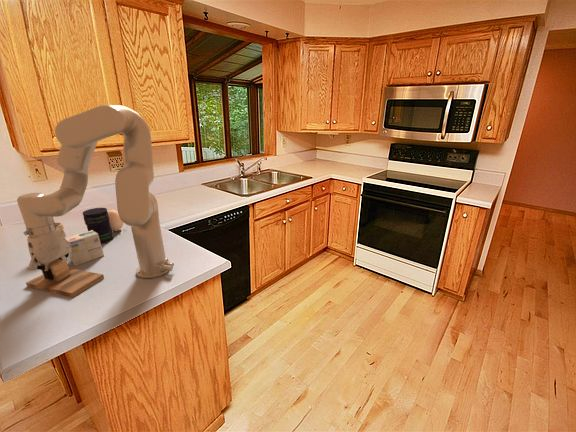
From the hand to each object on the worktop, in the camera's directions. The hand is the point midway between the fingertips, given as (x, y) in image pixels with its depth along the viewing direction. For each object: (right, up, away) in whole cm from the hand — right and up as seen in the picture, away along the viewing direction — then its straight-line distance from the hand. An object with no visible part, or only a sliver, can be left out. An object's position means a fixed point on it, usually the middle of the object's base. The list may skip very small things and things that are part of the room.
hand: (57, 274), depth 105 cm
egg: (-5, +13, +45) cm, 47 cm away
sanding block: (0, -1, 0) cm, 1 cm away
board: (+3, -3, 0) cm, 4 cm away
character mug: (-17, +5, +22) cm, 28 cm away
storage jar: (-5, +10, +34) cm, 36 cm away
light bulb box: (-1, +3, +17) cm, 17 cm away
